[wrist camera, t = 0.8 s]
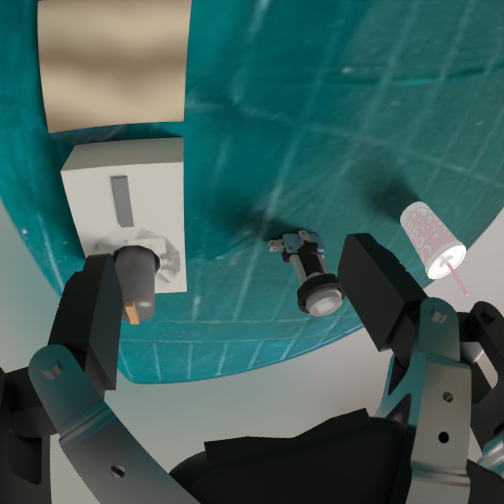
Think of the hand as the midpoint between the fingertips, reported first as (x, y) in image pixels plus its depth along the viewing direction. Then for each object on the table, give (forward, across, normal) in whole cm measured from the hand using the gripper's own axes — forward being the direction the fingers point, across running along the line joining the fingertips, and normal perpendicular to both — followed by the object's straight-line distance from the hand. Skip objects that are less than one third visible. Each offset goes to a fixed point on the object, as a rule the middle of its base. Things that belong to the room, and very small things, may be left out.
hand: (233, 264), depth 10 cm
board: (+18, +7, -7) cm, 20 cm away
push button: (+22, -11, +14) cm, 28 cm away
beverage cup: (+21, -28, +11) cm, 37 cm away
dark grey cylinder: (+21, +7, +11) cm, 25 cm away
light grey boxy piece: (+20, +7, +8) cm, 23 cm away
